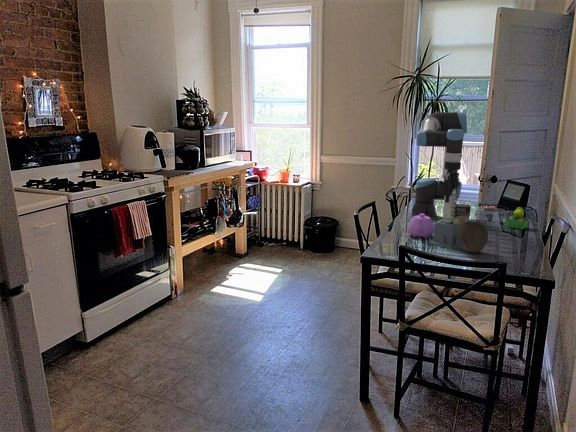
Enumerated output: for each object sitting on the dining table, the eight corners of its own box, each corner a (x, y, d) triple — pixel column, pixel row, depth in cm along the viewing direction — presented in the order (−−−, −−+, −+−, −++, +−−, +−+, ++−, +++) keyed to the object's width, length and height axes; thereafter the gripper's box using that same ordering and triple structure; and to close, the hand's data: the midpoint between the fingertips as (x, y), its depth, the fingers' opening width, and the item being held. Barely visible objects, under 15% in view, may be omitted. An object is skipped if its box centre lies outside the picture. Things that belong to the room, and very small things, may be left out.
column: (441, 228, 234) (445, 188, 228) (444, 227, 237) (448, 187, 231) (451, 230, 230) (454, 189, 225) (454, 228, 233) (457, 188, 228)
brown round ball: (492, 256, 215) (496, 225, 212) (463, 257, 214) (466, 226, 211) (478, 246, 229) (481, 217, 225) (450, 247, 228) (453, 218, 224)
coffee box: (449, 234, 249) (452, 206, 245) (450, 231, 255) (452, 203, 251) (468, 236, 246) (470, 207, 242) (467, 233, 252) (470, 204, 248)
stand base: (428, 244, 234) (430, 219, 230) (441, 237, 245) (442, 213, 242) (451, 248, 226) (453, 223, 223) (463, 241, 238) (465, 217, 234)
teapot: (432, 242, 235) (434, 220, 232) (404, 240, 240) (406, 217, 237) (435, 232, 254) (437, 211, 250) (409, 230, 259) (410, 209, 256)
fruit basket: (503, 226, 264) (505, 207, 262) (508, 223, 271) (510, 205, 268) (524, 230, 257) (527, 210, 254) (529, 227, 263) (532, 208, 260)
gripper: (453, 163, 216) (449, 211, 222) (467, 160, 229) (462, 205, 235) (438, 162, 221) (434, 209, 227) (452, 158, 234) (448, 203, 240)
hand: (449, 207), depth 231 cm, fingers closed on column, 4 cm apart
